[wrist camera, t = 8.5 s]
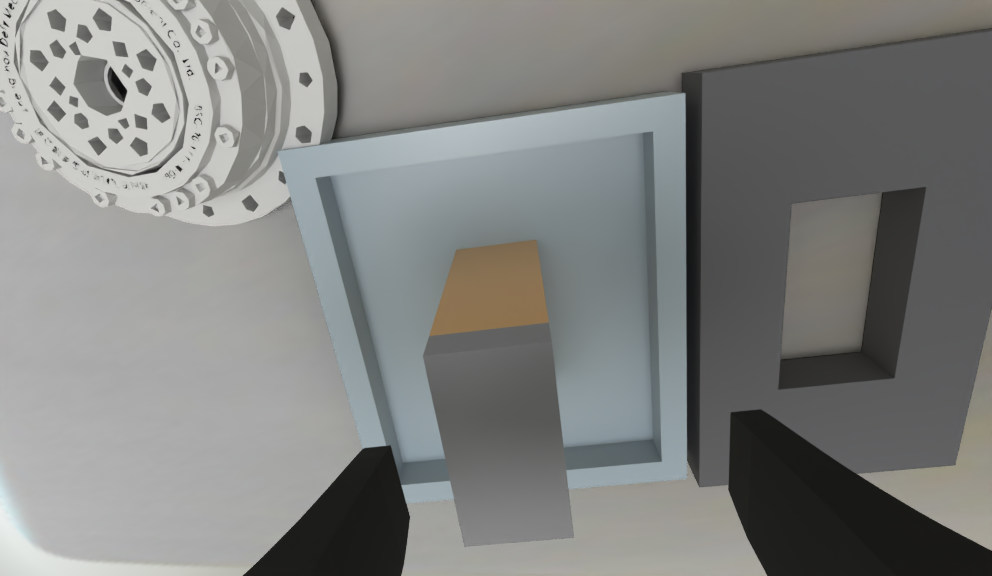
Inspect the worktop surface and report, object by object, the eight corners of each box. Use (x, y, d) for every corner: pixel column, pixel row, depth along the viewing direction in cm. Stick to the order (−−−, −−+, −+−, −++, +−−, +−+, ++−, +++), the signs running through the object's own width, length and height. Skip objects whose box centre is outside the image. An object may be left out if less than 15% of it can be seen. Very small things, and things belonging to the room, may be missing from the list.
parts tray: (667, 90, 18) (685, 93, 16) (673, 446, 23) (687, 478, 22) (300, 143, 19) (277, 151, 17) (388, 473, 24) (378, 505, 23)
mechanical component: (4, -11, 18) (179, 248, 21) (-157, -25, 14) (90, 296, 17) (234, -169, 15) (391, 158, 19) (113, -242, 11) (343, 191, 15)
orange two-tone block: (536, 239, 19) (551, 342, 12) (552, 378, 22) (574, 537, 14) (456, 249, 20) (422, 356, 12) (480, 386, 22) (464, 546, 14)
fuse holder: (998, 26, 17) (1058, 21, 15) (918, 433, 23) (955, 465, 21) (682, 73, 18) (702, 73, 16) (684, 454, 24) (699, 487, 22)
